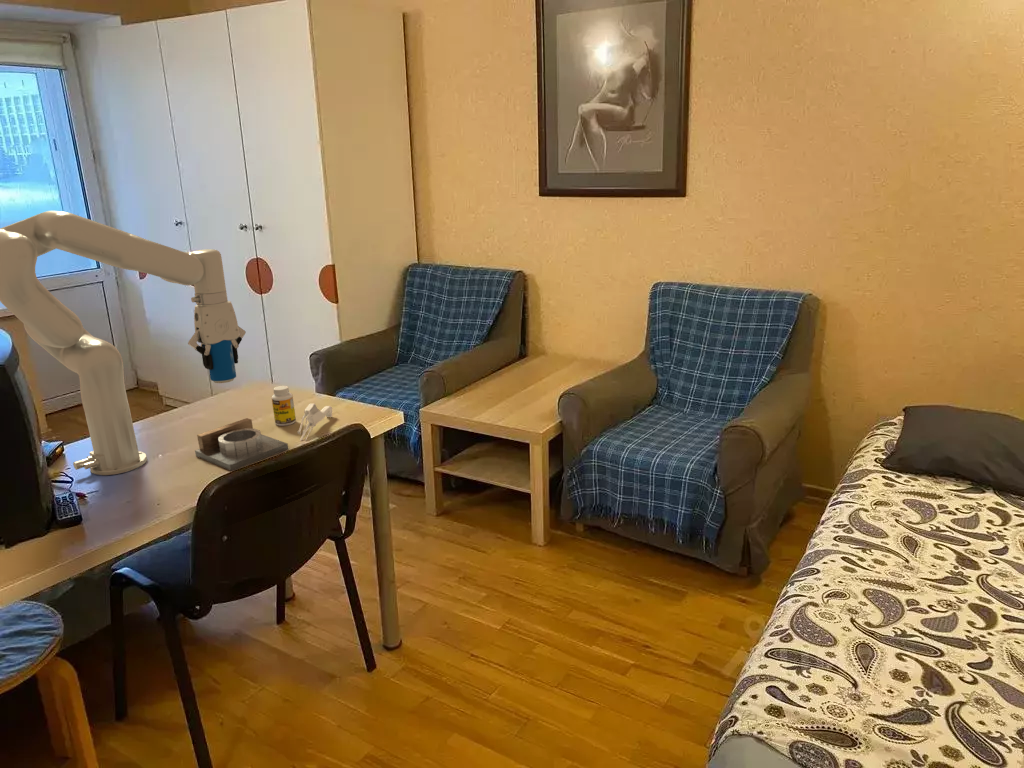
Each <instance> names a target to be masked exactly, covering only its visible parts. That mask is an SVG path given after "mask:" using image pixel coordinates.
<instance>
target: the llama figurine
mask: <svg viewBox="0 0 1024 768" xmlns="http://www.w3.org/2000/svg"><path fill="white" fill-rule="evenodd" d="M303 413H304V414H303V416H302V417H301V423H300V426H299V428H298V430H297V431H296V432H297V434H299V435H301V437H300V438H299V440H300V441H303V438H304V437H305V435H306V433H307V431H308V434H307V436H306V438H305V441H308V437H309V435H310V434H311V432H312V430H313V428H314V427H316V425H317V424H318V423H320V422H321V421H322V420H324V419H325V417H332V418H333V407H332V406H331V405H324V407H323V408H322V409H319V408H318V406H317V405H316V403H311V402H310V403H309V404H308V405H307V406H306V407H305V409H304V411H303ZM304 420H305V424H304V423H303V422H304ZM303 425H304V427H303ZM310 427H311V428H310ZM302 428H303V430H302ZM301 431H302V432H301Z"/></svg>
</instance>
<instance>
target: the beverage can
mask: <svg viewBox="0 0 1024 768" xmlns="http://www.w3.org/2000/svg"><path fill="white" fill-rule="evenodd" d="M209 354H210V355H211V356H212V362H213V369H212V370H209V369H208V372H209V378H210V381H212V382H214V383H215V384H227V383H230V382H233V381H234V380H235V378H237V373H236V366H235V365H236V364H235V363H234V356H233V349H232V342H231V341H230V340H222V341H220V342H218V343H216V344H213V345H211V348H210V352H209Z"/></svg>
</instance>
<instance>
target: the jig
mask: <svg viewBox="0 0 1024 768" xmlns="http://www.w3.org/2000/svg"><path fill="white" fill-rule="evenodd" d="M252 421H253V420H252V419H251V418H248V417H247V418H243V419H241V420H237V421H235V422H232V423H229V424H226V425H225V424H224V425H223V426H220V427H217V428H213V429H210V430H207V431H205V432H201V433H198V434H197V435H196V436H197V441H198V448H199V449H196V450H194V452H195V457H197V458H199V457H200V459H201V458H202V460H204V461H207V462H209V463H211V464H213V465H216V466H217V467H218V466H219V467H221V468H223V469H225V470H228V471H230V472H232V471H235V470H237V469H239V468H242V467H245V466H247V465H250V464H253V463H255V462H258V461H261V460H263V459H267V458H268V457H271V456H274V455H277V454H279V453H281V452H284V451H288V450H289V443H287V442H284V441H282V440H278V439H276V438H273V437H270V436H268V435H264V434H262V431H261V430H260V429H256V428H254V427H253V422H252Z"/></svg>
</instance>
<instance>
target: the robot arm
mask: <svg viewBox="0 0 1024 768" xmlns="http://www.w3.org/2000/svg"><path fill="white" fill-rule="evenodd" d="M56 249H57V250H60V251H63V252H66V253H70V254H72V255H77V256H80V257H83V258H86V259H90V260H92V261H95V262H98V263H102V264H105V265H108V266H111V267H114V268H118V269H123V270H126V271H133V272H134V271H135V272H140V273H143V274H144V273H145V274H149V275H152V276H155V277H159V278H160V279H161V280H163V281H165V282H168V283H173V284H176V285H177V284H178V285H182V286H193V289H194V296H191V297H190V300H191V302H192V303H195V305H194V311H193V313H194V314H193V316H194V318H193V319H194V321H193V323H194V334H193V335H192V336H191V337H190V339H189V340H188V342H187V344H188V345H189V346H190V347H191V348H193V349H194V350H195V351H197V352H198V353H199V354H200V355H201V359H202V365H203V367H204V368H205V369H207V370H208V371H209V370H212V369H213V362H212V356H211V355H210V354H209V352H210V348H211V345H213V344H216V343H218V342H220V341H222V340H230V341H231V342H232V349H233V356H234V363H235V365H236V364H238V363H239V354H238V349H239V345H240V344H241V341H243V338H244V336H245V334H246V331H245V330H244V329H243V327H240V326H239V324H238V320H237V315H236V312H235V309H234V306H233V303H232V301H229V300H228V294H227V287H226V280H225V279H226V278H225V273H224V267H223V266H224V265H223V257H222V254H221V252H220V251H219V250H218V249H213V248H212V249H211V248H209V249H208V248H207V249H199V250H194V251H190V252H189V251H186V252H184V251H182V250H179V249H176V248H174V247H170V246H167V245H164V244H161V243H158V242H154V241H152V240H149V239H146V238H143V237H141V236H140V235H139V236H138V235H136V234H133V233H129V232H127V231H124V230H122V229H118V228H116V227H115V228H114V226H113V227H112V226H109V225H106V224H103V223H101V222H97V221H95V220H92V219H89V218H86V217H84V216H80V215H78V214H74V213H72V212H67V211H61V210H60V211H59V210H46V211H43V212H40V213H38V214H36V215H32V216H31V217H27V218H25V219H23V220H19V221H16V222H14V223H11V224H9V225H6V226H3V227H0V303H1V304H2V305H3V306H4V307H5V308H6V309H7V310H8V311H9V312H10V313H11V314H13V315H14V317H16V318H17V319H18V320H19V321H20V322H21V323H23V328H24V329H25V332H26V333H27V335H28V336H29V337H30V338H31V339H32V340H33V341H34V342H35V343H36V344H38V345H39V346H40V348H42V349H43V350H45V351H46V352H47V353H48V354H50V355H51V356H52V357H53V358H54V359H56V361H58V362H59V363H60V364H62V365H63V366H64V367H66V368H67V370H69V371H71V372H72V373H75V374H77V375H78V378H79V388H80V389H79V392H80V398H81V404H82V407H83V412H84V415H85V420H86V424H87V428H88V433H89V438H90V441H91V446H92V450H93V451H92V450H91V451H89V456H86V458H84V459H80V460H76V461H74V462H73V463H72V464H73V468H74V469H75V470H76V471H77V470H80V469H83V468H84V469H85V470H90V472H91V473H92V474H93V475H98V476H112V475H119V474H122V473H126V472H127V473H128V472H131V471H133V470H136V469H138V468H140V467H142V466H143V465H144V464H145V463H146V462H147V461H148V456H147V454H146V453H145V452H143V451H139V449H138V448H139V447H138V443H137V438H136V433H135V429H134V424H133V419H132V414H131V409H130V404H129V400H128V394H127V391H126V385H125V375H124V374H125V373H124V371H125V370H124V369H125V368H124V362H123V356H122V354H121V353H120V351H119V350H118V348H117V347H116V346H115V345H113V344H112V343H110V341H109V342H108V341H107V340H104V339H101V338H99V337H95V336H94V335H92V334H91V333H90V332H89V331H88V330H87V329H85V328H84V326H83V322H82V321H81V319H80V317H79V316H78V315H77V314H76V313H75V312H74V311H72V310H71V309H70V308H68V307H67V306H66V305H65V304H64V303H62V302H61V301H60V300H59V299H58V298H57V297H55V295H53V294H52V293H51V291H49V290H48V289H47V288H46V287H45V286H44V285H43V284H42V282H40V281H39V278H38V277H37V273H36V265H37V260H38V257H40V256H43V255H45V254H47V253H50V252H51V251H55V250H56ZM198 343H200V345H199V344H198Z"/></svg>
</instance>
